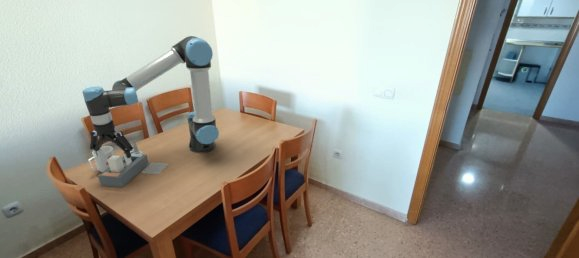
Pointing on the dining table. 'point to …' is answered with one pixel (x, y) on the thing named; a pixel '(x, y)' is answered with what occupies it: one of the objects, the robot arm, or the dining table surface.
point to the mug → (101, 166)
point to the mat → (154, 168)
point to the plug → (115, 164)
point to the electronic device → (135, 149)
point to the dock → (124, 171)
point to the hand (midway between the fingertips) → (116, 162)
